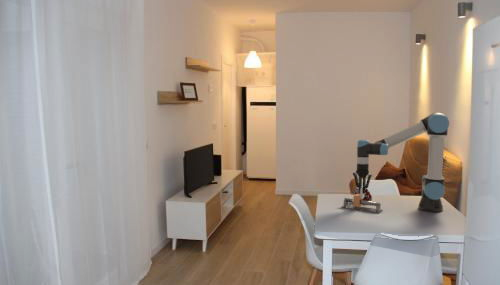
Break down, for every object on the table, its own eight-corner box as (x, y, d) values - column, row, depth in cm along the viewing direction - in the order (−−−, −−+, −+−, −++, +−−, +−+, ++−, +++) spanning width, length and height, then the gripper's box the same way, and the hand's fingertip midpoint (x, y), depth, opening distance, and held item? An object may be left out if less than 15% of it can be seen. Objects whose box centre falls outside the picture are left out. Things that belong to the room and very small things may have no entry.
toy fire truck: (370, 205, 304) (370, 190, 303) (352, 203, 310) (352, 188, 308) (372, 202, 310) (372, 188, 309) (354, 200, 316) (355, 186, 315)
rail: (382, 211, 288) (383, 201, 287) (378, 213, 281) (379, 204, 280) (345, 205, 302) (345, 196, 302) (341, 208, 296) (341, 198, 295)
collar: (362, 205, 294) (362, 194, 293) (359, 206, 290) (359, 196, 289) (356, 204, 296) (356, 193, 296) (353, 206, 292) (353, 195, 291)
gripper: (374, 163, 288) (373, 198, 290) (355, 161, 295) (354, 195, 298) (370, 164, 282) (369, 200, 284) (351, 163, 289) (350, 197, 291)
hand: (361, 198), depth 291 cm, fingers closed
